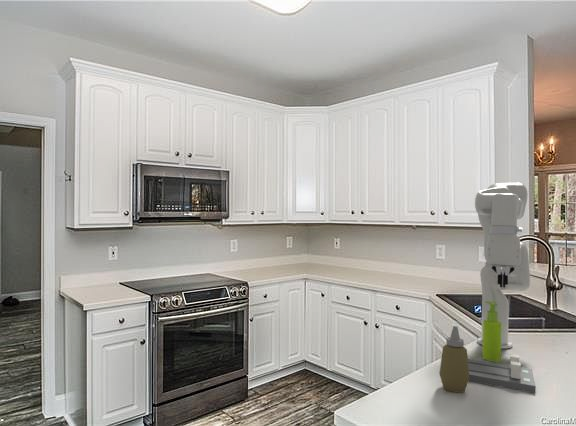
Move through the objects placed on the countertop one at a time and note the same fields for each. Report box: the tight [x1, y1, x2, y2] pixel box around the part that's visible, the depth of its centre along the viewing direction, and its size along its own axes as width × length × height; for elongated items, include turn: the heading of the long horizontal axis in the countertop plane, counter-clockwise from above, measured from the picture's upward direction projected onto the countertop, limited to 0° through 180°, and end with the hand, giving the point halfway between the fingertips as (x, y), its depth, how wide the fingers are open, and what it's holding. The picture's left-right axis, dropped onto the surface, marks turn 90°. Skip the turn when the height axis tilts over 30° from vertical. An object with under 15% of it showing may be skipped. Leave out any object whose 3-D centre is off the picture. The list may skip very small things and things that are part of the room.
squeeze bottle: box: [439, 325, 470, 393], centre depth 122 cm, size 8×8×18 cm
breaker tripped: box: [511, 361, 522, 379], centre depth 126 cm, size 3×2×4 cm
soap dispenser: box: [482, 301, 502, 362], centre depth 151 cm, size 6×7×20 cm
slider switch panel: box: [468, 358, 537, 394], centre depth 132 cm, size 16×22×2 cm
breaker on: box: [509, 353, 520, 369], centre depth 133 cm, size 3×2×4 cm
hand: (502, 286), depth 138 cm, fingers closed
